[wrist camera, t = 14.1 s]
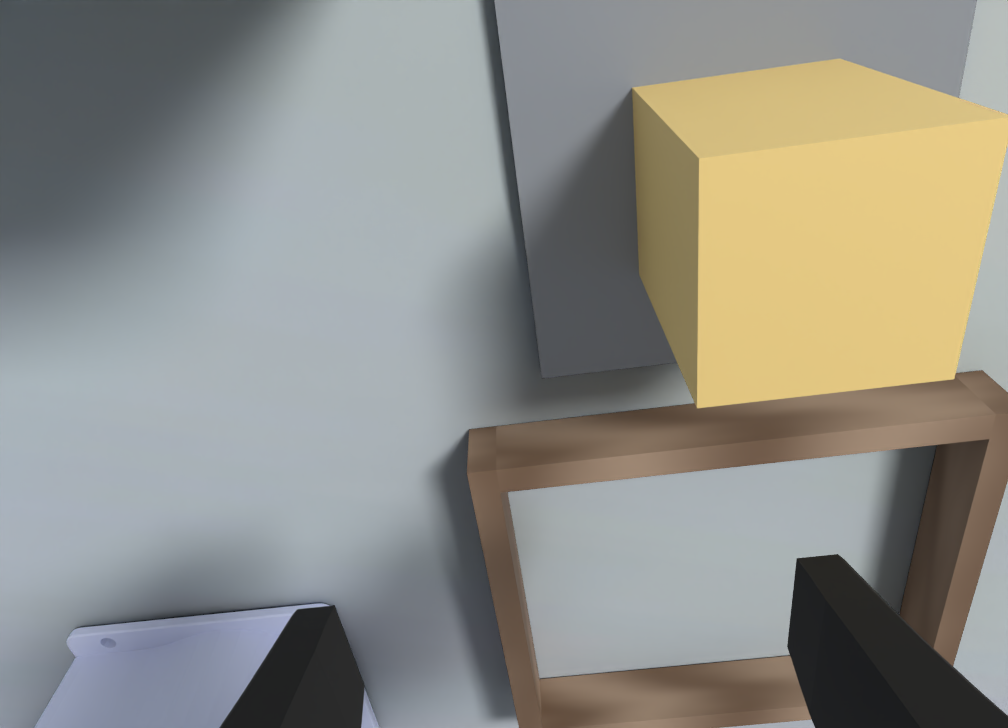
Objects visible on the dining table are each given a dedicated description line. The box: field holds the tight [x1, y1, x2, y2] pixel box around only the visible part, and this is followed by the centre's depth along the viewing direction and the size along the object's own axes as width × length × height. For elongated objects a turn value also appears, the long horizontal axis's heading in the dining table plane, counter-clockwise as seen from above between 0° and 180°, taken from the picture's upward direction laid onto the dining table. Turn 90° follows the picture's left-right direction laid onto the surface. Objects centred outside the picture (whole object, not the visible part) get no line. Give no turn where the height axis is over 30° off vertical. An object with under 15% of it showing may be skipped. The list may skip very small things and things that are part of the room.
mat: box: [494, 0, 977, 379], centre depth 17 cm, size 10×10×1 cm
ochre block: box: [632, 59, 1008, 408], centre depth 14 cm, size 4×4×6 cm
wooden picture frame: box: [467, 370, 1008, 728], centre depth 23 cm, size 15×13×2 cm
